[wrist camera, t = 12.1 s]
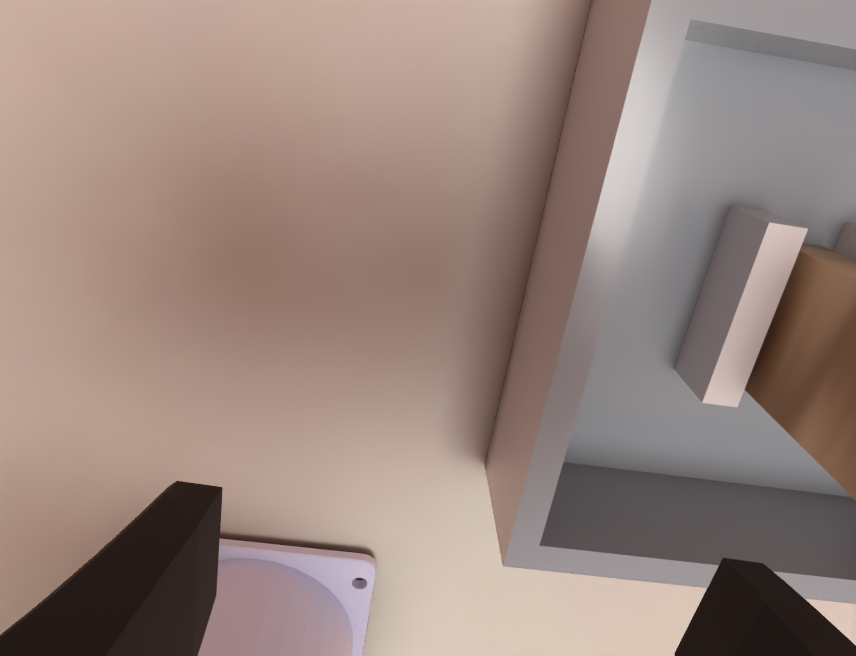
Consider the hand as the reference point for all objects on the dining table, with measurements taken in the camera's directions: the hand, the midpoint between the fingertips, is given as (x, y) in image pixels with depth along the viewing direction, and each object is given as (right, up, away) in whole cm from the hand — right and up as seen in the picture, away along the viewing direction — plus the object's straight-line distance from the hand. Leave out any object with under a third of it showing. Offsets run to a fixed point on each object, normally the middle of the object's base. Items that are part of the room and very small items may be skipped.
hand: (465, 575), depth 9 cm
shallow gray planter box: (+9, +5, +10) cm, 14 cm away
